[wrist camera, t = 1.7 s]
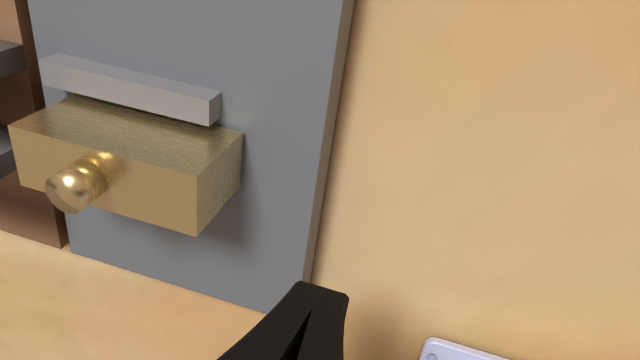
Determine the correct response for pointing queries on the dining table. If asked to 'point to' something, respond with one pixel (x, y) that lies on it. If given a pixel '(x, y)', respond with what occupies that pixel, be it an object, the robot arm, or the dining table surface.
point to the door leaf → (206, 109)
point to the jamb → (10, 106)
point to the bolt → (128, 162)
